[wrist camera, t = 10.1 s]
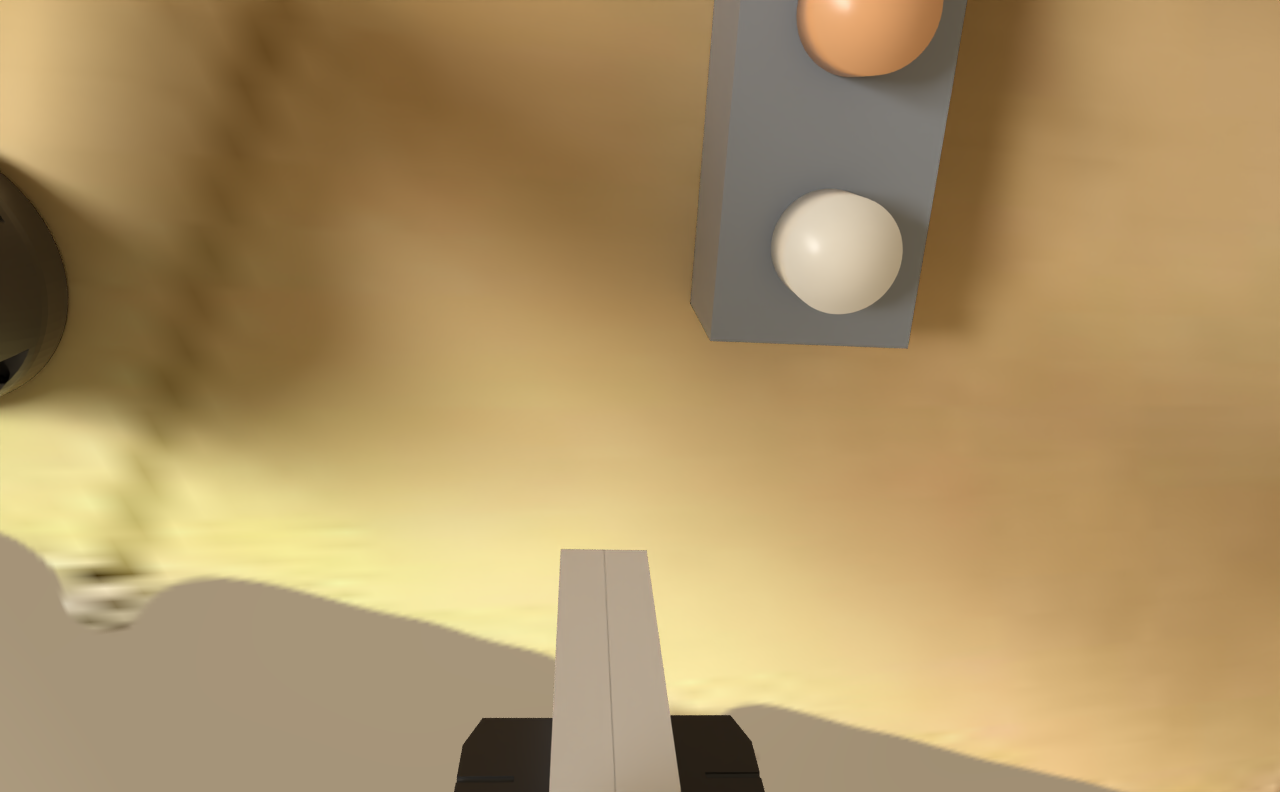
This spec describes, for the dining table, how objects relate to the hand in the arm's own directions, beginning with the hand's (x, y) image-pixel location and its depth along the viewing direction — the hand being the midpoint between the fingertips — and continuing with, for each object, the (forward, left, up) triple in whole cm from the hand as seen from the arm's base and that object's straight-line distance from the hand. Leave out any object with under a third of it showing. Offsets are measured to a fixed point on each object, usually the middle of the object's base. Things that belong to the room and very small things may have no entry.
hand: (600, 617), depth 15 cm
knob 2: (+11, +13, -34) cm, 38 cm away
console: (+11, +8, -34) cm, 37 cm away
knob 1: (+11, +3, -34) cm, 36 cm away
